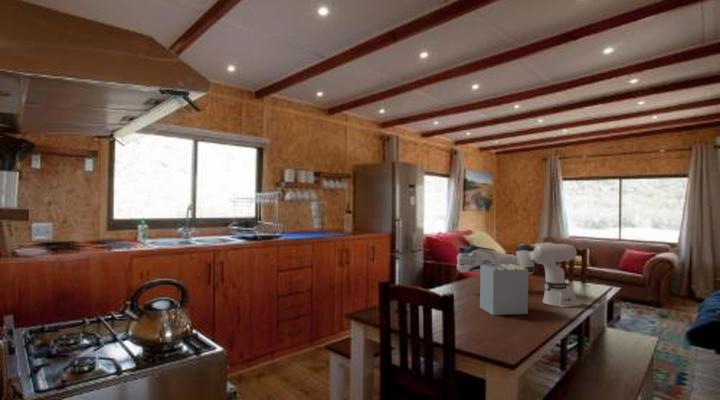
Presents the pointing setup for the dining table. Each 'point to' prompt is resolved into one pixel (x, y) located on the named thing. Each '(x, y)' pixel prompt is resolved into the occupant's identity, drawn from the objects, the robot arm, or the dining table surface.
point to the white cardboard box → (504, 289)
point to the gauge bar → (483, 255)
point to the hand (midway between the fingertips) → (477, 252)
